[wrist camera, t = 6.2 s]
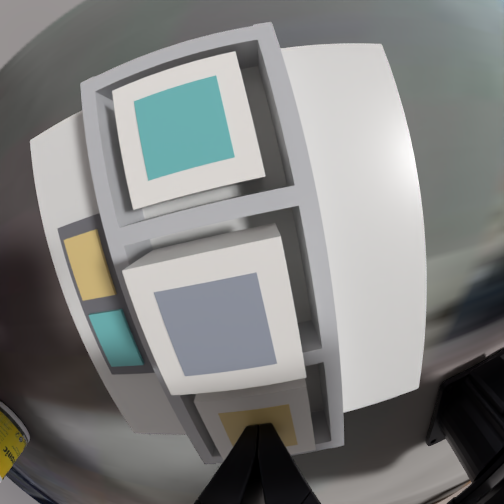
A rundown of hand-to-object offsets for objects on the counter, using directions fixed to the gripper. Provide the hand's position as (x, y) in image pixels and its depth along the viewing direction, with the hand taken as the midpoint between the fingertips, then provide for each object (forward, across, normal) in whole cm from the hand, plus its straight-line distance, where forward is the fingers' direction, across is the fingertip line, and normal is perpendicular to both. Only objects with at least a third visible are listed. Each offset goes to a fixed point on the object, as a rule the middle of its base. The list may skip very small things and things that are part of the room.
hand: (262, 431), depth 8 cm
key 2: (+2, 0, 0) cm, 2 cm away
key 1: (+2, 0, -9) cm, 9 cm away
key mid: (+1, 0, -5) cm, 5 cm away
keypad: (+4, 0, -5) cm, 6 cm away
